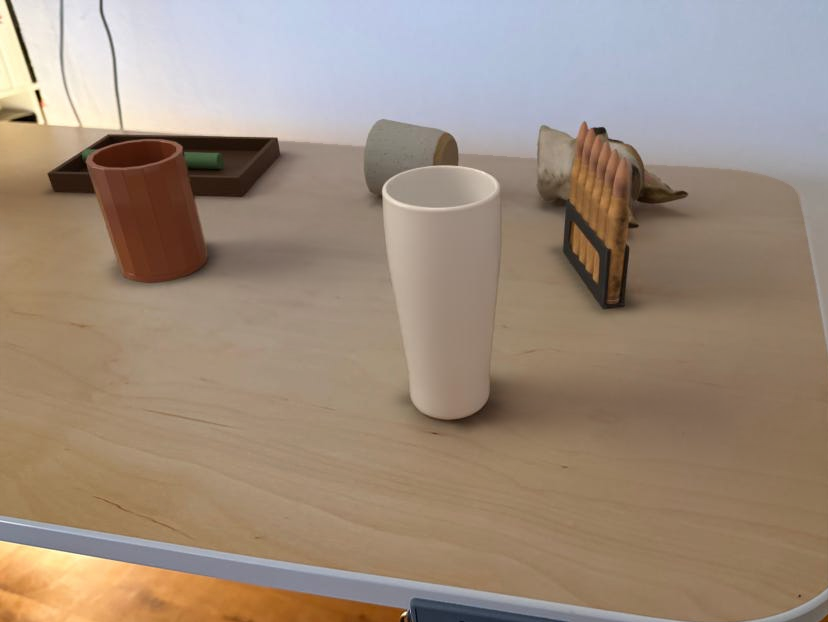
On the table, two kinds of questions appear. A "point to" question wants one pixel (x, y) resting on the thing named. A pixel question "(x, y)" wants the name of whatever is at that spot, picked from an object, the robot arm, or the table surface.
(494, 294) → the drinking glass
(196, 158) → the straw
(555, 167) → the ceramic sculpture
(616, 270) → the ammunition clip
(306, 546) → the table surface
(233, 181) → the tray
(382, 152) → the ceramic mug
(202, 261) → the tumbler
